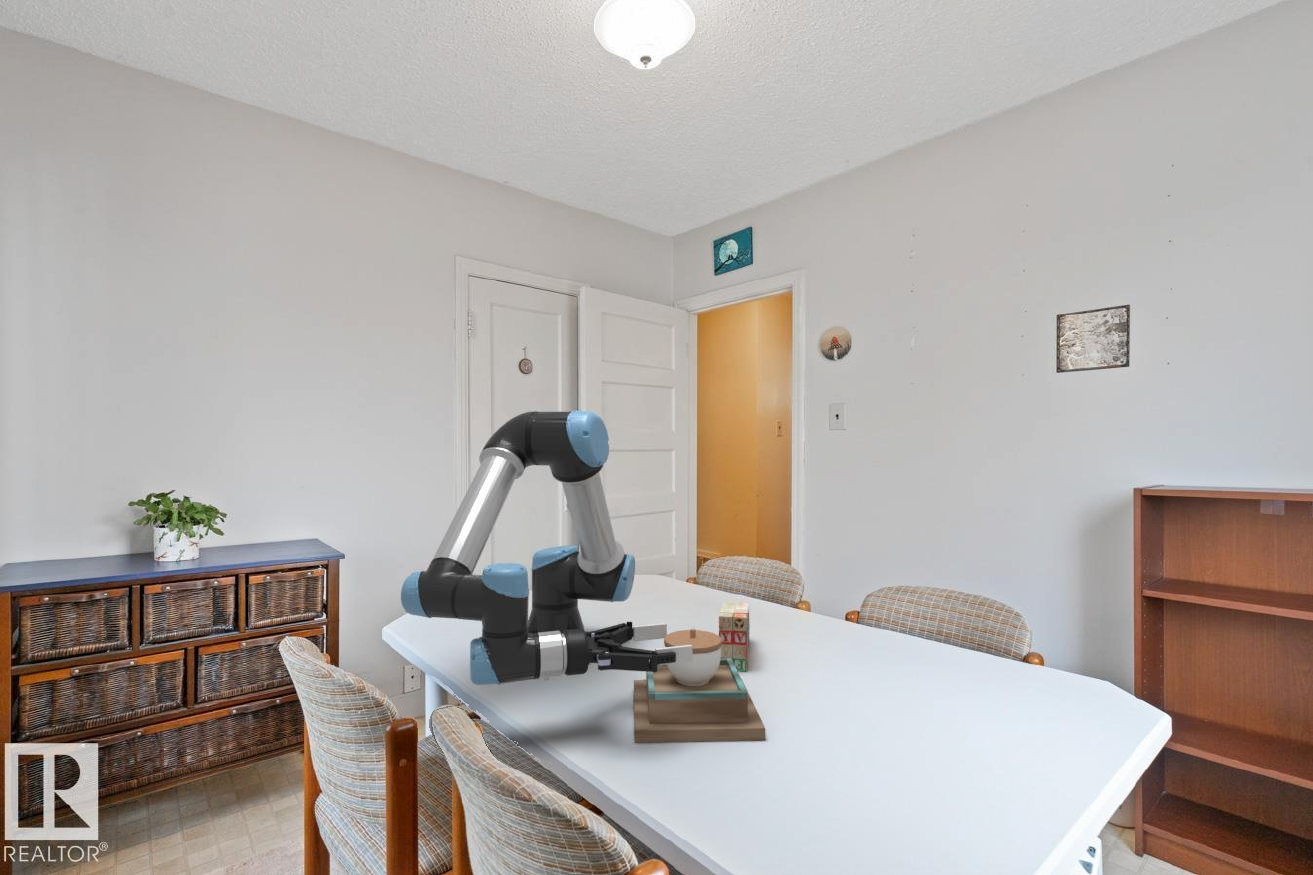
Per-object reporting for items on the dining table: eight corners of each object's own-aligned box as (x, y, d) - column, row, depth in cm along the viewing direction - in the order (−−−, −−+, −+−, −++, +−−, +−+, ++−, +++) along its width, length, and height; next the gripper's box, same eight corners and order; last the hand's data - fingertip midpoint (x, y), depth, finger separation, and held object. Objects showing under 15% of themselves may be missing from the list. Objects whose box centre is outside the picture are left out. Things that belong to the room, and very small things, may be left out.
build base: (633, 689, 124) (633, 655, 124) (741, 688, 125) (741, 653, 125) (634, 742, 102) (634, 700, 102) (765, 740, 103) (765, 698, 103)
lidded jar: (707, 666, 121) (708, 619, 121) (731, 687, 111) (731, 635, 111) (656, 673, 117) (656, 624, 117) (675, 694, 107) (675, 641, 107)
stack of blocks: (725, 640, 156) (725, 592, 156) (749, 642, 155) (749, 593, 155) (718, 671, 135) (718, 615, 135) (747, 673, 134) (747, 616, 134)
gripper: (552, 651, 118) (657, 641, 125) (576, 703, 94) (704, 687, 101) (552, 612, 118) (657, 603, 125) (576, 654, 94) (704, 641, 101)
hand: (678, 641), depth 113 cm, fingers open, 13 cm apart
